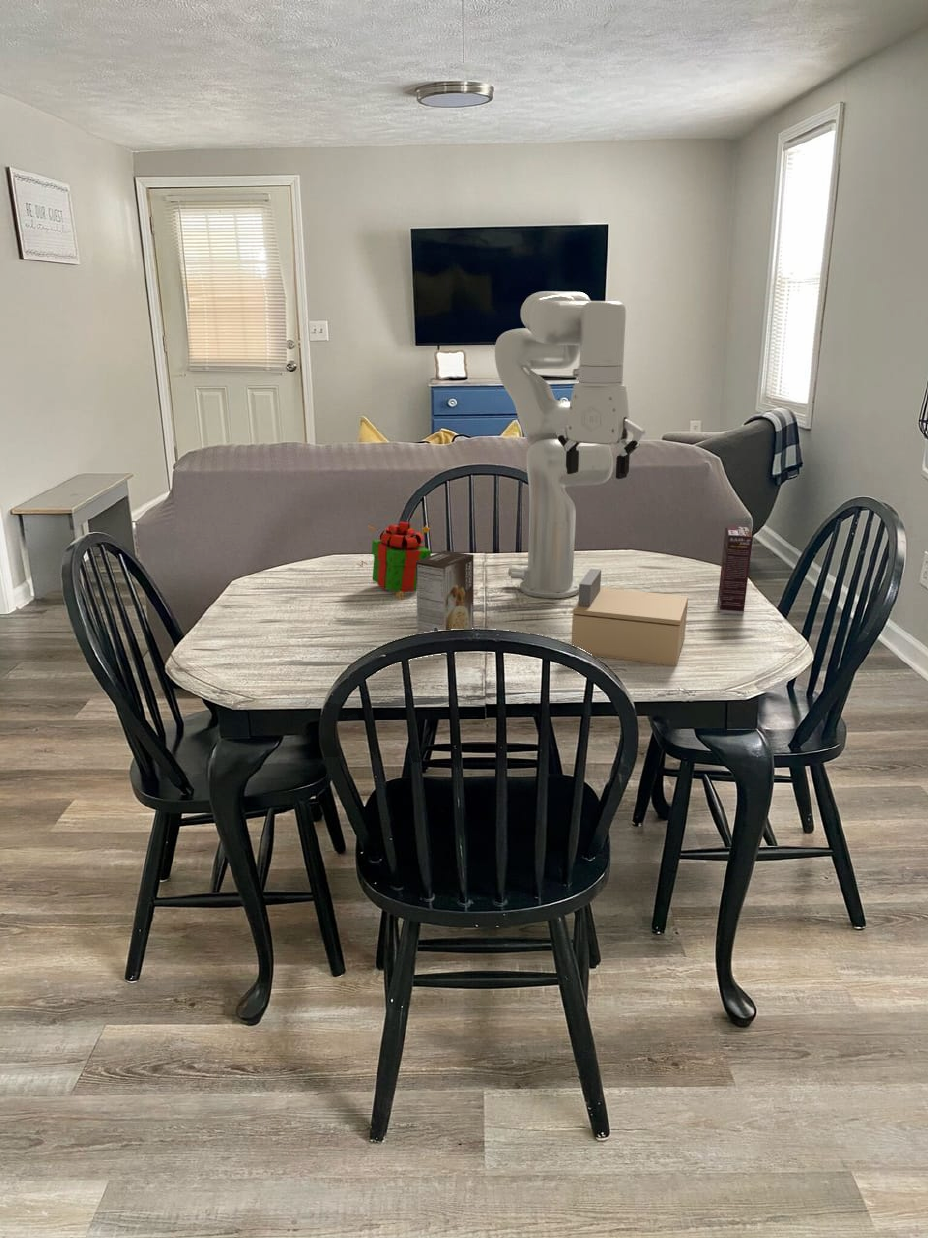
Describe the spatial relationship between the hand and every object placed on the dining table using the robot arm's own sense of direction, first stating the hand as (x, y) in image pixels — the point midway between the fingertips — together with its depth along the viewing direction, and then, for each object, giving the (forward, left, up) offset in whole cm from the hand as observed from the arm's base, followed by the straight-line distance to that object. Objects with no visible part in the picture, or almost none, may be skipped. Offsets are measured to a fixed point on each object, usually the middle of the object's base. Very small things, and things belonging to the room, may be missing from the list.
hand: (596, 475), depth 165 cm
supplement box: (+25, +20, -29) cm, 43 cm away
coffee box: (-22, -18, -29) cm, 41 cm away
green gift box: (-44, +13, -29) cm, 54 cm away
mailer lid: (+9, -8, -21) cm, 24 cm away
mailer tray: (+9, -8, -28) cm, 31 cm away
